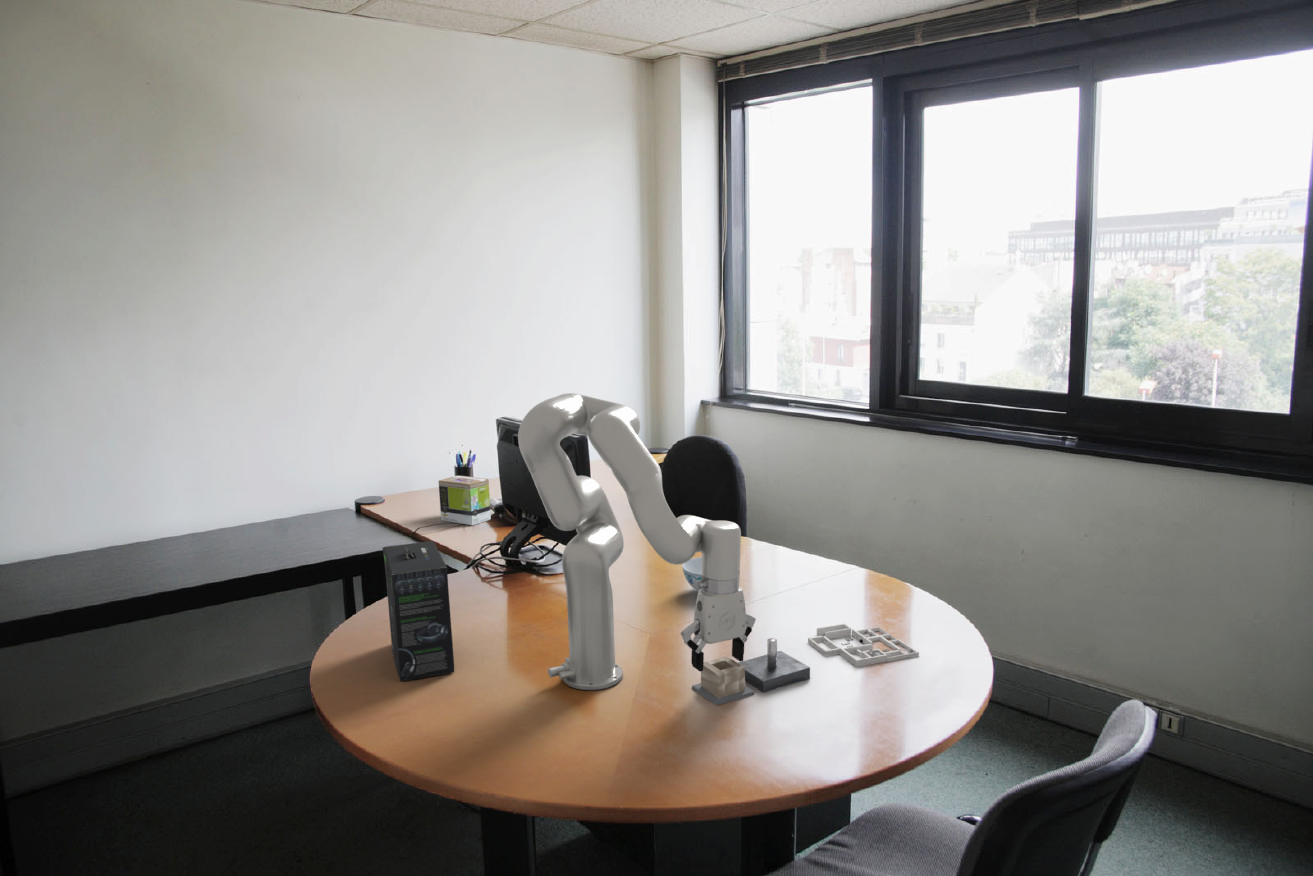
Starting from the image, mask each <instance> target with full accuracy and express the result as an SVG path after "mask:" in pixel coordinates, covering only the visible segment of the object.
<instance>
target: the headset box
mask: <svg viewBox="0 0 1313 876" xmlns="http://www.w3.org/2000/svg"><path fill="white" fill-rule="evenodd" d="M382 552H383V559H384V571H385V581H386V592H387V593H386V594H387V595H386V596H387V603H388V604H387V605H388V615H389V630H390V639H391V651H392V657H393V661H394V666H395V670H396V672H397V675H398V676H397V677H398V679H399V681H400V682H402V681H409V680H416V679H417V680H418V679H423V678H427V677H428V678H430V677H434V676H439V675H446V674H451V673H455V659H454V658H455V657H454V647H453V646H454V645H453V631H452V619H451V607H450V593H449V580H448V578H449V577H448V567H447V565H446V563H445V561H444V559H443V557H442V555H441V553H440V551H439V549H438V548H437V546H436V544H435V541H434V540H431V541H428V540H427V541H421V542H412V543H405V544H398V545H397V544H396V545H391V546H390V545H387V546H384V547H382Z"/></svg>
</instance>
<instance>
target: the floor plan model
mask: <svg viewBox="0 0 1313 876" xmlns="http://www.w3.org/2000/svg"><path fill="white" fill-rule="evenodd" d="M879 631H880V632H879ZM876 632H879V633H881V632H882V633H883V634H882V633H881V634H878V633H876ZM863 634H865V635H866V636H865V635H863ZM816 635H817V636H811V637H810V636H809V637H808V638H807V643H808V644H809V645H811V646H812V647H813V648H814V649H815V650H817V651H819V652H820V653H821V654H822V655H824V656H825V657H828V656H833V655H840V656H841V657H843V658H844V659H846V660H847V661H848V662H850V663H851V664H852V665H854V667H856V668H857V667H862V666H868V665H872V664H873V665H874V664H879V663H884V662H887V663H888V662H893V661H899V660H903V659H910V658H914V657H915V656H916V657H919V656H920V652H919V651H917V650H916V649H914V648H913V647H912V646H910V645H908V644H907V643H905V642H903V641H902V640H901V639H900V638H896V637H895V636H894V635H892V634H890V633H888V632H887V631H885V630H884V629H882V628H881V627H879V626H877V627H871V628H866V629H865V628H864V629H859V630H856V629H855V628H852V627H851V626H849V625H848V624H847V623H839V624H835V625H829V626H822V627H821V626H820V627H816ZM823 635H824V636H823ZM851 636H852V637H854V638H855V639H857V640H858V641H859V643H860V644H862V645H849V644H850V641H854V638H852V637H851ZM843 637H845V638H844V639H845V640H846V642H841V645H847V646H846V647H845V648H844V647H842V646H838V645H837V644H836V643H834V642H833V641H832V640H831V639H838V638H843ZM886 638H887V639H886ZM888 639H890V640H888ZM878 641H880V642H882V643H883V644H885V645H886V646H888V647H889V648H891V649H893V650H890V649H889V648H888V649H887V648H885V649H883V650H881V649H879V648H874V647H873V645H874V642H878ZM820 642H823V643H825V644H826V645H827V646H829V647H830V648H831V649H827V650H826V649H825V648H824V647H822V646H821V645H820V644H818V643H820ZM897 645H898V646H897ZM901 646H902V648H900V647H901ZM904 648H905V650H906V651H907V650H908V651H909V652H908V651H907V652H908V653H905V652H904V651H902V649H904ZM853 654H857V655H858V656H859V657H861V658H859V659H858V658H856V656H854V655H853ZM918 655H919V656H918ZM898 659H899V660H898Z"/></svg>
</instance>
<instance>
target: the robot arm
mask: <svg viewBox="0 0 1313 876" xmlns="http://www.w3.org/2000/svg"><path fill="white" fill-rule="evenodd" d="M640 430H641V422H640V419H639V416H638V414H637V413H636V412H635V411H634V410H633V409H632V408H630V407H629V406H627V405H624V404H621V403H619V402H618V403H616V402H614V401H609V400H606V399H605V400H604V399H600V398H595V397H592V396H587V395H583V394H579V393H574V392H573V393H571V392H570V393H569V392H568V393H562V394H559V395H557V396H554V397H551V398H548V399H545V400H543V401H541V402H539V403H537V404H536V405H535V406H533V407H532V408H531V409H529V411H528V412H527V413H526V414H525V416H524V417H523V419H522V421H521V423H520V425H519V429H518V432H517V434H518V435H517V440H518V441H517V443H518V447H519V451H520V453H521V456H522V458H523V461H524V462H525V465H526V467H527V469H528V472H529V473H530V475H531V478H532V480H533V482H534V485H535V488H536V490H537V493H538V495H539V497H540V499H541V501H542V504H543V506H544V509H545V511H546V514H547V517H548V519H550V522H551V523H552V524H553V526H554V527H556V529H558V530H560V531H563V532H569V531H574V530H576V533H577V534H576V535H575V536H573V538H571V540H570V541H569V542H567V544H566V546H565V547H564V549H563V551H562V552H563V553H562V555H561V557H562V558H561V568H562V572H563V577H564V583H565V590H566V591H565V593H566V606H567V607H566V608H567V609H566V610H567V626H568V627H567V629H568V631H567V632H568V650H569V651H568V652H569V653H568V654H569V655H568V657H565V658H564V662H563V663H561V665H558V666H552V667H548V669H547V674H548V676H549V678H555V677H558V678H559V679H560V680H563V682H564V683H565V684H566V685H568V687H571V688H574V689H577V690H583V691H584V690H585V691H596V690H602V689H603V690H604V689H607V688H610V687H613V686H615V685H616V684H618V683H619V682H621V680H622V679H623V677H624V675H623V672H624V671H623V669H622V667H621V666H620V665H619V664H617V663H616V654H615V653H616V652H615V649H616V648H615V624H614V623H615V621H614V620H615V619H614V598H613V589H612V582H611V578H610V568H611V567H612V565H613V564H614V563H616V561H618V559H619V557H621V555H622V553H623V552H624V551H623V550H624V547H625V546H624V544H625V543H624V536H623V532H622V531H621V527H620V525H619V523H618V520H617V517H616V515H615V513H614V511H613V508H612V506H611V503H610V501H609V499H608V497H607V495H606V493H605V491H604V489H603V487H602V486H601V484H599V483H598V482H597V480H595V479H593V478H592V477H589V476H587V475H577V473H576V471H575V469H574V467H573V463H572V461H571V460H570V457H569V456H568V455H567V453H566V451H565V450H564V449H563V448H562V447H561V441H562V440H563V439H565V438H567V437H569V436H571V435H574V434H577V435H581V436H585V437H587V438H588V440H589V442H590V444H591V446H592V448H593V449H594V450H595V451H596V453H597V454H598V456H599V457H600V458H601V459H602V461H603V462H604V464H605V465H606V466H607V468H608V469H609V470H610V472H611V473H612V474H613V476H614V477H615V479H616V480H617V482H618V484H620V486H621V488H622V489H623V491H624V493H625V494H626V498H627V500H628V501H627V502H628V504H629V507H630V508H631V512H632V515H633V517H634V519H635V522H636V524H637V526H638V528H639V530H640V531H641V533H642V534H643V536H644V538H645V539H646V540H647V541H648V543H649V545H650V546H651V547H652V549H654V551H655V553H656V554H657V555H658V556H659V557H660V558H661V559H663V560H664V561H665V562H667V563H669V564H671V565H677V566H679V565H682V564H684V563H686V562H688V561H689V560H690V559H693V557H694V556H695V554H697V553H701V557H702V576H701V581H700V582H697V587H698V588H701V589H700V590H699V592H698V591H697V597H696V600H695V601H696V602H695V605H694V606H695V608H694V615H693V621H692V623H690V624H689V625H688V626H686V627H685V628H684V629H683V630H681V632H680V635H681V637H682V639H683V641H684V642H683V643H684V644H686V645H687V647H688V648H689V649H691V658H690V659H691V665H692V667H693V668H694V669H696V670H697V671H698V672H701V671H703V665H704V662H705V658H704V656H705V655H704V652H703V651H702V650H703V649H704V648H705V646H706V645H707V644H708V645H712V644H717V643H720V642H721V643H722V642H726V641H730V640H732V641H731V642H732V644H731V657H732V658H735V659H736V660H737V661H738V662H742V661H744V654H745V643H746V642H747V641H748V638H749V636H750V634H751V633H752V632H753V627H754V624H755V623H756V620H757V619H756V617H754V616H753V615H751V614H747V612H746V611H747V609H746V602H745V601H746V600H745V596H744V591H743V588H742V587H740V573H741V571H740V569H741V548H742V547H741V543H742V542H741V541H742V531H741V527H740V526H739V524H737V523H736V522H734V521H729V520H712V519H708V518H703V517H700V516H696V515H691V514H684V515H683V514H682V515H680V516H677V517H676V515H674V513H673V511H672V510H671V508H670V506H669V504H668V502H667V500H666V497H665V494H664V488H663V476H662V475H663V474H662V469H661V467H660V464H659V463H658V462H657V461H656V460H655V458H654V457H653V455H652V454H651V452H650V451H649V449H648V448H647V447H646V446H645V444H644V443H643V441H642V440H641V439H640V437H639V433H640ZM692 635H694V637H693V638H692Z"/></svg>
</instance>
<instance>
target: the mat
mask: <svg viewBox="0 0 1313 876" xmlns="http://www.w3.org/2000/svg"><path fill="white" fill-rule="evenodd" d="M691 688H692V690H694V691H696V692H697V693H699V694H700V695H701V696H702V697H704V698H706V699H707V700H708V701H709V702H711V703H712V704H714V705H715V706H720V705H724V704H727V703H730V702H733V701H736V700H739V699H742V698H747V697H750V696H752V695H754V694H755V691H754V690H753V689H751V688H749V687H748V686H746V685H745V691H742V692H739V693H735V694H732V695H729V696H725V697H722V698H717V697H716V696H714V695H713V694H711V693H710V692H709V691H707V690H706V689H704V688H703V687H701V682H699V683H696V684H693V685H691Z"/></svg>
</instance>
